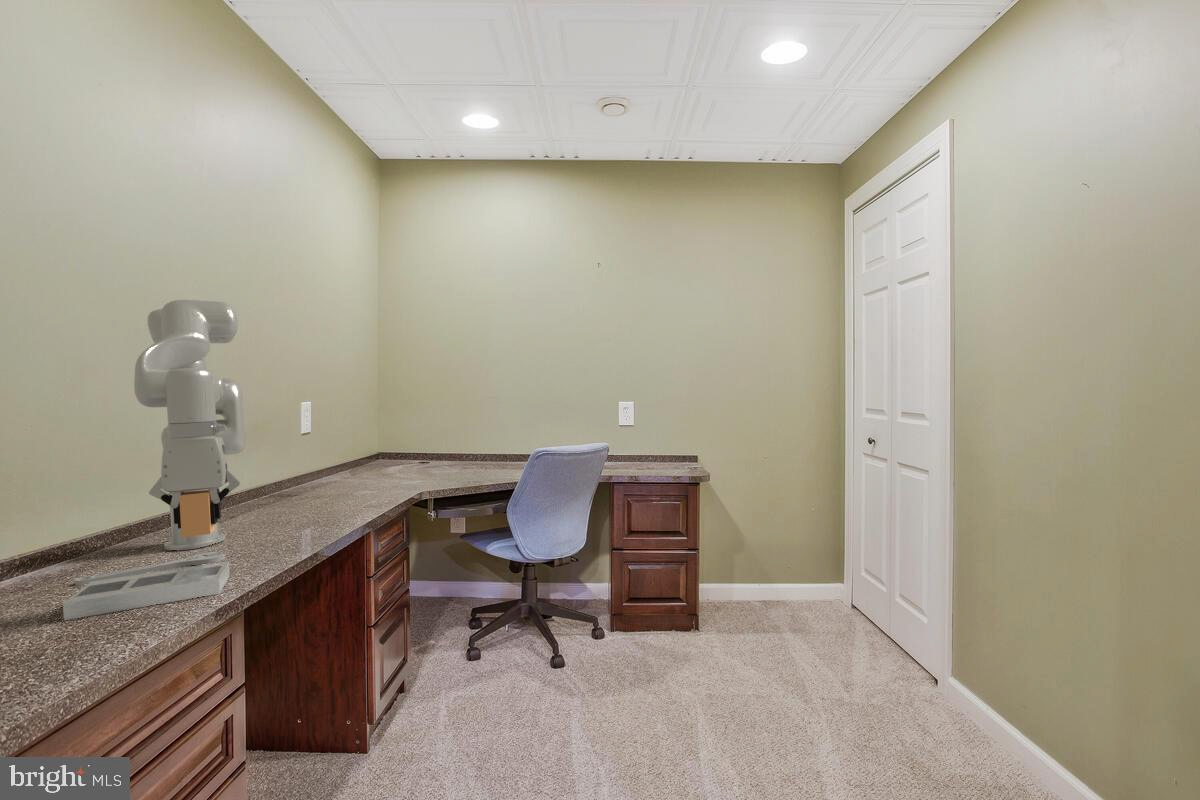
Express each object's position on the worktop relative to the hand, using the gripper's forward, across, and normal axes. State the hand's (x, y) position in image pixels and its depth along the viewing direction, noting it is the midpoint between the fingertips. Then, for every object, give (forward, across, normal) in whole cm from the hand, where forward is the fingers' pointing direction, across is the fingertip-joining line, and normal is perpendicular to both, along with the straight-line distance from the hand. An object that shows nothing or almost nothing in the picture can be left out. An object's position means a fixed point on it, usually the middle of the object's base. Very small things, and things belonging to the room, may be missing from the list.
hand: (198, 524), depth 105 cm
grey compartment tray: (+13, +7, 0) cm, 15 cm away
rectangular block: (+2, 0, 0) cm, 2 cm away
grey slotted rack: (+13, +12, -21) cm, 27 cm away
